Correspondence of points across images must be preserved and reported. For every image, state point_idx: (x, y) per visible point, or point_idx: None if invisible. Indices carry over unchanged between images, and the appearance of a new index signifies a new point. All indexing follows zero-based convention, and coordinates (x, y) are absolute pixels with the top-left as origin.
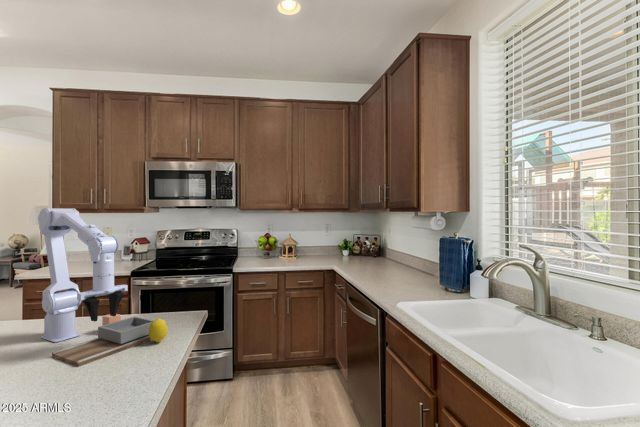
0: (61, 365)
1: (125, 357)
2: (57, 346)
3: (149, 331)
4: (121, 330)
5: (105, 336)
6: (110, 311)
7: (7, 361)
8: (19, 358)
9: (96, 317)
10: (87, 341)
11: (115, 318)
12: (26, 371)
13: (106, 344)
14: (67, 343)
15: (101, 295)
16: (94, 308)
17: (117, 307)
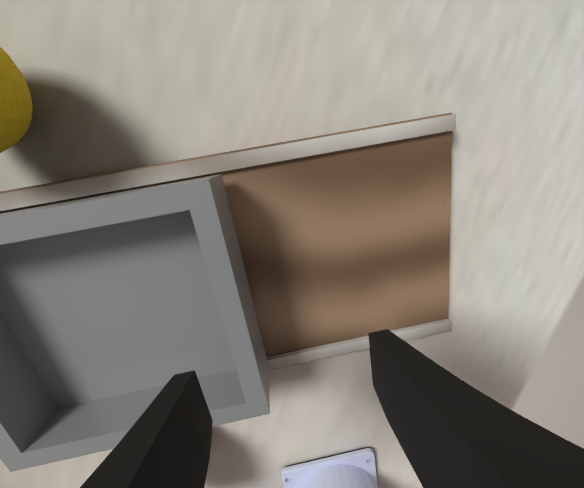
0: (465, 196)
1: (250, 24)
2: (379, 410)
3: None
4: (153, 355)
5: (254, 319)
6: (201, 463)
7: (523, 378)
8: (495, 380)
9: (398, 348)
10: (311, 359)
11: None
12: (549, 239)
13: (264, 265)
14: (346, 418)
15: None
16: (556, 448)
17: (108, 464)
